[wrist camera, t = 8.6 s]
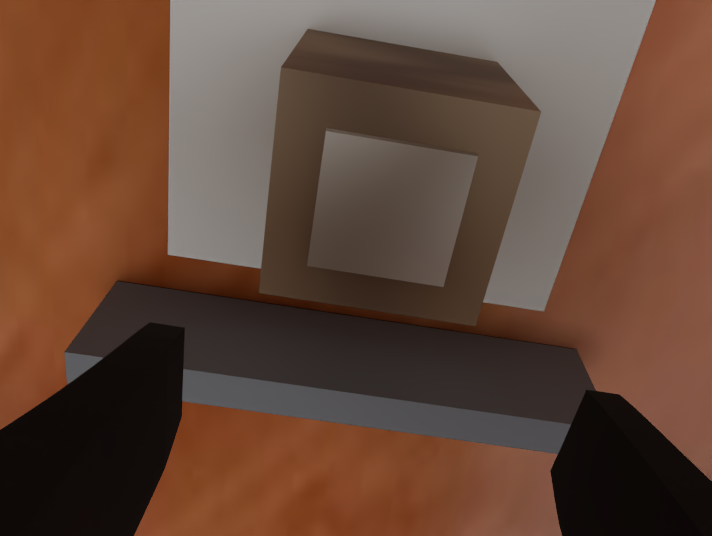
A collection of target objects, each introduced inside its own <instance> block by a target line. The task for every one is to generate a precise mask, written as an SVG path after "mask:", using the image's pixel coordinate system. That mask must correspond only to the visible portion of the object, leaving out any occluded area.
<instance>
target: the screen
mask: <svg viewBox="0 0 712 536" xmlns="http://www.w3.org/2000/svg"><path fill="white" fill-rule="evenodd" d="M150 322H152V323H158V324H165V325H171V326H178V327H184V328H185V339H184V366H183V393H182V401H185V402H192V403H199V404H206V405H213V406H220V407H228V408H235V409H242V410H249V411H256V412H263V413H270V414H277V415H285V416H292V417H299V418H306V419H313V420H320V421H327V422H334V423H342V424H349V425H356V426H363V427H370V428H377V429H384V430H391V431H399V432H406V433H413V434H420V435H427V436H434V437H441V438H448V439H455V440H463V441H470V442H477V443H484V444H491V445H498V446H505V447H512V448H520V449H527V450H534V451H541V452H548V453H555V454H558V453H559V451H560V449H561V446H562V444H563V442H564V439H565V437H566V435H567V433H568V430H569V428H570V426H571V424H572V421H573V419H574V417H575V414H576V412H577V410H578V408H579V405H580V403H581V401H582V398H583V396H584V394H585V392H586V390H592V391H596V390H595V388H594V386H593V384H592V381H591V379H590V377H589V375H588V373H587V371H586V369H585V366H584V364H583V362H582V360H581V358H580V356H579V354H578V352H577V349H570V348H564V347H557V346H550V345H544V344H537V343H530V342H523V341H517V340H510V339H503V338H496V337H490V336H483V335H476V334H470V333H463V332H456V331H449V330H443V329H436V328H429V327H422V326H416V325H409V324H402V323H396V322H389V321H382V320H375V319H369V318H362V317H355V316H348V315H342V314H335V313H328V312H322V311H315V310H308V309H301V308H295V307H288V306H281V305H274V304H268V303H261V302H254V301H248V300H241V299H234V298H227V297H221V296H214V295H207V294H200V293H194V292H187V291H180V290H173V289H167V288H160V287H153V286H147V285H140V284H133V283H126V282H120V281H117V282H116V283H115V284H114V286H113V287H112V288H111V290H110V291H109V292H108V294H107V295H106V297H105V298H104V299H103V301H102V302H101V303H100V305H99V306H98V307H97V309H96V310H95V311H94V313H93V314H92V315H91V317H90V318H89V320H88V321H87V322H86V324H85V325H84V326H83V328H82V329H81V330H80V332H79V333H78V334H77V336H76V337H75V338H74V340H73V341H72V343H71V344H70V345H69V347H68V348H67V349H66V351H65V352H64V353H65V364H66V375H67V385H68V384H69V383H70V382H72V381H73V380H75V379H76V378H77V377H79V376H80V375H81V374H83V373H84V372H85V371H87V370H88V369H89V368H91V367H92V366H94V365H95V364H96V363H97V362H99V361H100V360H101V359H103V358H104V357H105V356H106V355H108V354H109V353H110V352H112V351H113V350H114V349H115V348H117V347H118V346H119V345H121V344H122V343H123V342H124V341H126V340H127V339H128V338H129V337H131V336H132V335H133V334H134V333H136V332H137V331H138V330H140V329H141V328H142V327H144V326H145V325H147V324H148V323H150Z"/></svg>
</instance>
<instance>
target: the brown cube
mask: <svg viewBox="0 0 712 536" xmlns="http://www.w3.org/2000/svg"><path fill="white" fill-rule="evenodd" d="M540 115H541V111H540V110H539V109H538V107H537V106H536V105H535V104H534V103H533V102H532V101H531V99H530V98H529V97H528V96H527V95H526V94H525V93H524V92H523V90H522V89H521V88H520V87H519V86H518V85H517V84H516V82H515V81H514V80H513V79H512V78H511V77H510V76H509V74H508V73H507V72H506V71H505V70H504V69H503V68H502V67H501V65H500V64H499V63H498V62H495V61H489V60H484V59H478V58H472V57H467V56H461V55H455V54H449V53H444V52H438V51H432V50H426V49H421V48H415V47H409V46H404V45H398V44H392V43H386V42H381V41H375V40H369V39H364V38H358V37H352V36H346V35H341V34H335V33H329V32H324V31H318V30H312V29H307V31H306V32H305V33H304V35H303V36H302V38H301V39H300V41H299V42H298V43H297V45H296V46H295V48H294V49H293V51H292V52H291V53H290V55H289V56H288V58H287V59H286V61H285V62H284V63H283V65H282V66H281V71H280V81H279V91H278V102H277V112H276V122H275V132H274V142H273V152H272V162H271V172H270V183H269V193H268V203H267V213H266V223H265V233H264V243H263V253H262V263H261V274H260V284H259V293H261V294H268V295H274V296H281V297H287V298H294V299H300V300H307V301H313V302H320V303H326V304H333V305H339V306H346V307H352V308H359V309H366V310H372V311H379V312H385V313H392V314H398V315H405V316H411V317H418V318H424V319H431V320H437V321H444V322H450V323H457V324H463V325H470V326H476V323H477V320H478V317H479V313H480V310H481V307H482V304H483V300H484V297H485V294H486V290H487V287H488V284H489V281H490V277H491V274H492V271H493V268H494V264H495V261H496V258H497V255H498V251H499V248H500V245H501V242H502V238H503V235H504V232H505V229H506V225H507V222H508V219H509V216H510V212H511V209H512V206H513V203H514V199H515V196H516V193H517V190H518V186H519V183H520V180H521V176H522V173H523V170H524V167H525V163H526V160H527V157H528V154H529V150H530V147H531V144H532V141H533V137H534V134H535V131H536V128H537V124H538V121H539V118H540Z"/></svg>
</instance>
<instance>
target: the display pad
mask: <svg viewBox="0 0 712 536" xmlns="http://www.w3.org/2000/svg"><path fill="white" fill-rule="evenodd" d="M655 2H656V0H170V87H169V189H168V255H174V256H180V257H187V258H194V259H200V260H207V261H213V262H220V263H227V264H233V265H240V266H247V267H253V268H260V269H261V263H262V253H263V243H264V233H265V223H266V213H267V203H268V193H269V183H270V172H271V162H272V152H273V142H274V132H275V122H276V112H277V102H278V91H279V81H280V71H281V66H282V65H283V63H284V62H285V61H286V59H287V58H288V56H289V55H290V53H291V52H292V51H293V49H294V48H295V46H296V45H297V43H298V42H299V41H300V39H301V38H302V36H303V35H304V33H305V32H306V31H307V29H312V30H318V31H324V32H329V33H335V34H341V35H346V36H352V37H358V38H364V39H369V40H375V41H381V42H386V43H392V44H398V45H404V46H409V47H415V48H421V49H426V50H432V51H438V52H444V53H449V54H455V55H461V56H467V57H472V58H478V59H484V60H489V61H495V62H498V63H499V64H500V65H501V67H502V68H503V69H504V70H505V71H506V72H507V73H508V74H509V76H510V77H511V78H512V79H513V80H514V81H515V82H516V84H517V85H518V86H519V87H520V88H521V89H522V90H523V92H524V93H525V94H526V95H527V96H528V97H529V98H530V99H531V101H532V102H533V103H534V104H535V105H536V106H537V107H538V109H539V110H540V111H541V115H540V118H539V121H538V124H537V128H536V131H535V134H534V137H533V141H532V144H531V147H530V150H529V154H528V157H527V160H526V163H525V167H524V170H523V173H522V176H521V180H520V183H519V186H518V190H517V193H516V196H515V199H514V203H513V206H512V209H511V212H510V216H509V219H508V222H507V225H506V229H505V232H504V235H503V238H502V242H501V245H500V248H499V251H498V255H497V258H496V261H495V264H494V268H493V271H492V274H491V277H490V281H489V284H488V287H487V290H486V294H485V297H484V300H483V302H485V303H491V304H498V305H505V306H511V307H518V308H524V309H531V310H538V311H544V309H545V307H546V304H547V301H548V298H549V296H550V293H551V290H552V287H553V284H554V282H555V279H556V276H557V273H558V271H559V268H560V265H561V262H562V260H563V257H564V254H565V251H566V248H567V246H568V243H569V240H570V237H571V235H572V232H573V229H574V226H575V223H576V221H577V218H578V215H579V212H580V210H581V207H582V204H583V201H584V199H585V196H586V193H587V190H588V187H589V185H590V182H591V179H592V176H593V174H594V171H595V168H596V165H597V162H598V160H599V157H600V154H601V151H602V149H603V146H604V143H605V140H606V138H607V135H608V132H609V129H610V126H611V124H612V121H613V118H614V115H615V113H616V110H617V107H618V104H619V101H620V99H621V96H622V93H623V90H624V88H625V85H626V82H627V79H628V77H629V74H630V71H631V68H632V65H633V63H634V60H635V57H636V54H637V52H638V49H639V46H640V43H641V40H642V38H643V35H644V32H645V29H646V27H647V24H648V21H649V18H650V16H651V13H652V10H653V7H654V4H655Z"/></svg>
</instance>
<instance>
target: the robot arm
mask: <svg viewBox="0 0 712 536" xmlns="http://www.w3.org/2000/svg"><path fill="white" fill-rule="evenodd" d="M184 339H185V328H184V327H178V326H171V325H165V324H158V323H152V322H150V323H148V324H147V325H145V326H144V327H142V328H141V329H140V330H138V331H137V332H136V333H134V334H133V335H132V336H131V337H129V338H128V339H127V340H126V341H124V342H123V343H122V344H121V345H119V346H118V347H117V348H115V349H114V350H113V351H112V352H110V353H109V354H108V355H106V356H105V357H104V358H103V359H101V360H100V361H99V362H97V363H96V364H95V365H94V366H92V367H91V368H89V369H88V370H87V371H85V372H84V373H83V374H81V375H80V376H79V377H77V378H76V379H75V380H73V381H72V382H70V383H69V384H68V385H66V386H65V387H64V388H62V389H61V390H60V391H58V392H57V393H55V394H54V395H52V396H51V397H50V398H48V399H47V400H45V401H44V402H42V403H41V404H39V405H38V406H36V407H35V408H33V409H32V410H30V411H29V412H27V413H25V414H24V415H22V416H21V417H19V418H18V419H16V420H15V421H13V422H12V423H10V424H9V425H7V426H6V427H4V428H2V429H1V430H0V536H134V534H135V532H136V530H137V528H138V525H139V523H140V521H141V519H142V517H143V515H144V513H145V510H146V508H147V506H148V504H149V502H150V500H151V497H152V495H153V493H154V491H155V489H156V487H157V484H158V482H159V480H160V478H161V476H162V473H163V471H164V469H165V466H166V463H167V460H168V457H169V454H170V451H171V448H172V445H173V442H174V439H175V436H176V433H177V429H178V426H179V423H180V420H181V417H182V393H183V366H184ZM551 477H552V483H553V490H554V497H555V503H556V509H557V514H558V520H559V525H560V529H561V532H562V536H712V481H711V480H709V479H708V478H707V477H706V476H705V475H704V474H703V473H702V472H701V471H700V470H699V469H698V468H697V467H696V466H695V465H694V464H693V463H692V462H691V461H690V460H688V459H687V458H686V457H685V456H684V455H683V454H682V453H681V452H680V451H679V450H678V449H677V448H676V447H675V446H674V445H673V444H672V443H671V442H670V441H669V440H668V439H667V438H666V437H665V436H664V435H663V434H662V433H661V432H660V431H659V430H657V429H656V428H655V427H654V426H653V425H652V424H651V423H650V422H649V421H648V420H647V419H646V418H645V417H644V416H643V415H642V414H641V413H640V412H639V411H637V410H636V409H635V408H634V407H633V406H632V405H631V404H630V403H629V402H627V401H626V400H625V399H624V398H623V397H622V396H620V395H618V394H612V393H605V392H599V391H592V390H586V392H585V394H584V396H583V398H582V401H581V403H580V405H579V408H578V410H577V412H576V414H575V417H574V419H573V421H572V424H571V426H570V428H569V430H568V433H567V435H566V437H565V439H564V442H563V444H562V446H561V449H560V451H559V453H558V455H557V458H556V460H555V462H554V464H553V467H552V469H551Z"/></svg>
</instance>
